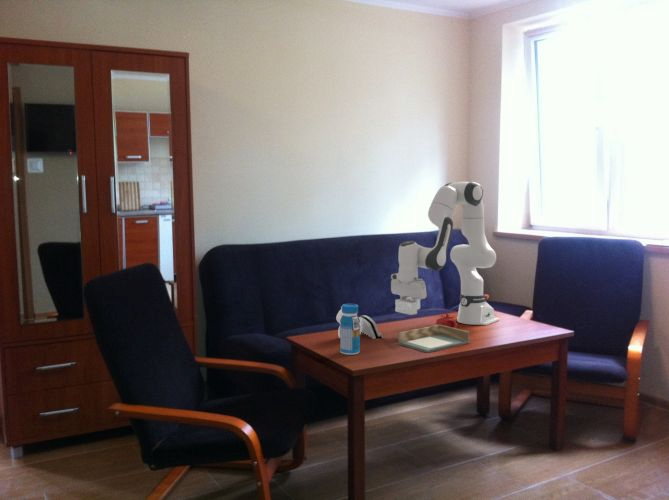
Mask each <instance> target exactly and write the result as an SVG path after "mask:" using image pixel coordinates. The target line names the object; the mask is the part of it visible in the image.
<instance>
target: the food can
mask: <svg viewBox="0 0 669 500" xmlns="http://www.w3.org/2000/svg"><path fill="white" fill-rule="evenodd" d="M341 306H342V313H343V315H342V317H341V319H340V323H341V324H340V323H339V326H340V338H339V340H340V346H339V349H340V350H339V352H340V354H342V355H345V356H346V355H347V356H348V355H349V356H350V355H351V356H352V355H353V356H354V355H358V354H359V353H360V352H361V342H360V341H361V334H360V325H359V323H360V319H359V317H360V316H359V315H358V313H359V305H358V304H357V303H356V304H355V303H344V304H342V305H341Z"/></svg>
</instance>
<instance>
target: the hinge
mask: <svg viewBox="0 0 669 500" xmlns="http://www.w3.org/2000/svg"><path fill="white" fill-rule="evenodd" d="M358 317H359V319H361V320H362V322H363V329H362V333H361V334H363V333H364V335H365V334H366V336H367V335H368V336H367V337H369V338H371V339H373V340H375V339H377V337H378V338H379V337H380V338H382V339H383V338H384V335H383V333H380V331H379V329H378V326H377V323H376V322H375V321H374V319H373V318H372V317H370V316H368V315H365V314H364V315H360V316H358ZM359 325H360V324H359Z"/></svg>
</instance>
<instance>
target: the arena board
mask: <svg viewBox="0 0 669 500" xmlns="http://www.w3.org/2000/svg"><path fill="white" fill-rule="evenodd" d="M470 341H471V340H470ZM470 341H466V340H462V339H458V338H454V337H450V336H446V335H442V334H436V335H431V336H427V337H422V338H417V339H413V340H408V341H403V342H398V341H397V345H401V346H404V347H408V348H411V349H413V350H417V351H421V352H423V353H427V354H428V353H432V352H437V351H441V350H444V349H450V348H454V347H458V346H462V345H463V346H464V345H468V344H470V343H471V342H470Z"/></svg>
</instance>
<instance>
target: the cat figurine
mask: <svg viewBox="0 0 669 500" xmlns="http://www.w3.org/2000/svg"><path fill="white" fill-rule="evenodd" d="M342 315H343V313H342V305H341V307H340V310H338V312H337V314H336V317H335V319H336V321H337V323H339V327H338V330H337V335H338V338H339V339H340V325H341V323H340V319H341V317H342ZM359 324H360V335H362V333H361V332H362V329H363V322H362V320H361V319H360V323H359Z"/></svg>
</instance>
